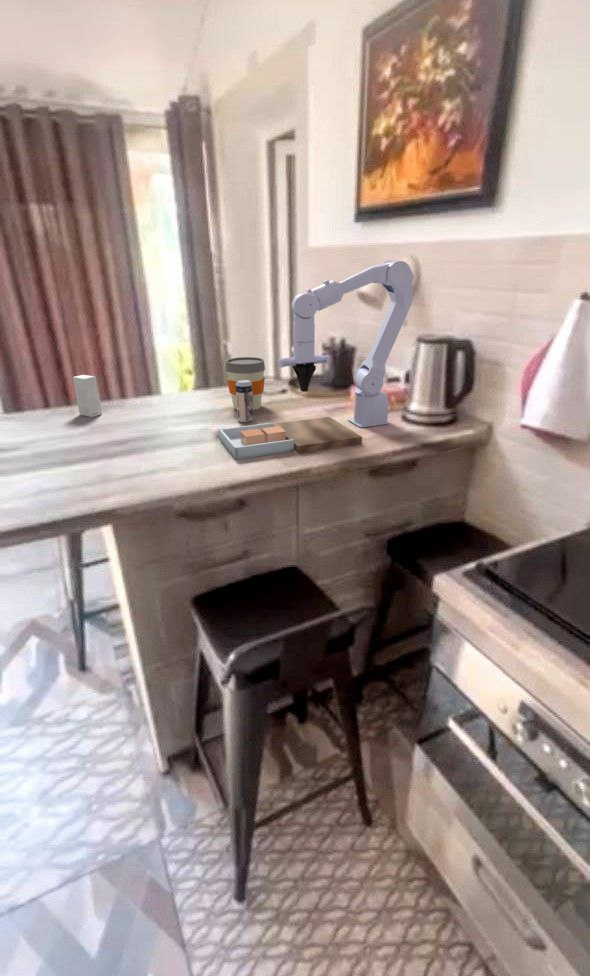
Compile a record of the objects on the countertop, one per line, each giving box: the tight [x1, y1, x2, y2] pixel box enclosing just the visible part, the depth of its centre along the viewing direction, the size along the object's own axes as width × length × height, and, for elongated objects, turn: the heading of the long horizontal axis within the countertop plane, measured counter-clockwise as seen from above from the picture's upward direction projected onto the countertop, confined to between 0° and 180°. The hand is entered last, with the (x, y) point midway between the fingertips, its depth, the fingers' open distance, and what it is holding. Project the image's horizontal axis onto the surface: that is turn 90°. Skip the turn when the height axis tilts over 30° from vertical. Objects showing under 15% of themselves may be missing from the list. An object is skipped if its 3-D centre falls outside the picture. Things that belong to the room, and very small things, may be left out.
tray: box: [218, 422, 295, 460], centre depth 134 cm, size 15×16×3 cm
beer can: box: [236, 380, 255, 423], centre depth 152 cm, size 5×5×12 cm
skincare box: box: [72, 374, 103, 418], centre depth 159 cm, size 6×4×12 cm
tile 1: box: [240, 429, 265, 446], centre depth 133 cm, size 5×5×3 cm
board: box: [273, 416, 363, 454], centre depth 139 cm, size 18×20×2 cm
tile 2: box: [261, 426, 286, 443], centre depth 135 cm, size 5×5×3 cm
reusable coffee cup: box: [225, 356, 266, 411], centre depth 165 cm, size 13×13×15 cm
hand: (304, 390), depth 144 cm, fingers closed
